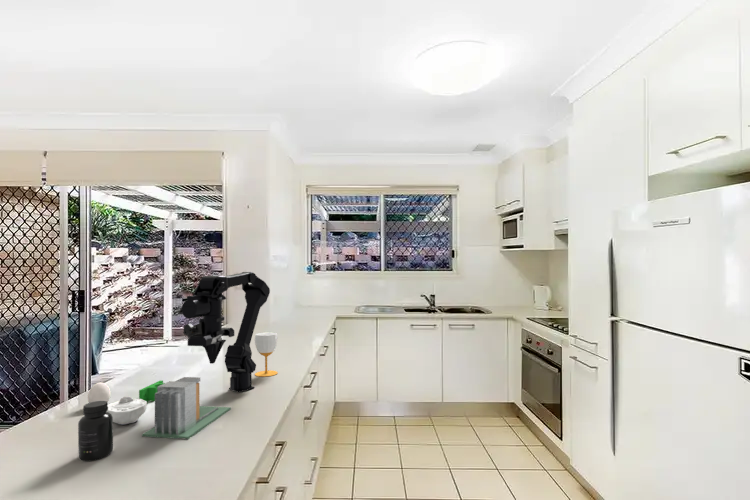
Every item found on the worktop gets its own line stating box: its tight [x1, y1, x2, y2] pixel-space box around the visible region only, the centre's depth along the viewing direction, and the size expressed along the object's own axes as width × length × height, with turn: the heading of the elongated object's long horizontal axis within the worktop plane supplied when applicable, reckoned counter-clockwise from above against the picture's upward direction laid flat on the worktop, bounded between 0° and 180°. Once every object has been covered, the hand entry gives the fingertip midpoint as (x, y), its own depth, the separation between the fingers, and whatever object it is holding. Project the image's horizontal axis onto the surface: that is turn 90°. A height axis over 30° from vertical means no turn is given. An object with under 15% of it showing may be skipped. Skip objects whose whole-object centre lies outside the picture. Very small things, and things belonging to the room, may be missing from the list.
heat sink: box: [154, 376, 219, 435], centre depth 119 cm, size 20×8×12 cm, turn 171°
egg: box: [87, 382, 112, 403], centre depth 133 cm, size 6×6×8 cm
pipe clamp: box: [138, 380, 165, 402], centre depth 141 cm, size 11×4×5 cm, turn 175°
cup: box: [254, 331, 278, 378], centre depth 171 cm, size 9×9×16 cm
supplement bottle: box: [77, 401, 114, 462], centre depth 99 cm, size 7×7×12 cm
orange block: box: [196, 382, 200, 420], centre depth 119 cm, size 2×5×10 cm, turn 81°
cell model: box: [107, 395, 148, 426], centre depth 120 cm, size 10×12×7 cm
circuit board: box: [141, 405, 232, 440], centre depth 120 cm, size 22×13×1 cm, turn 171°
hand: (212, 363), depth 137 cm, fingers closed
